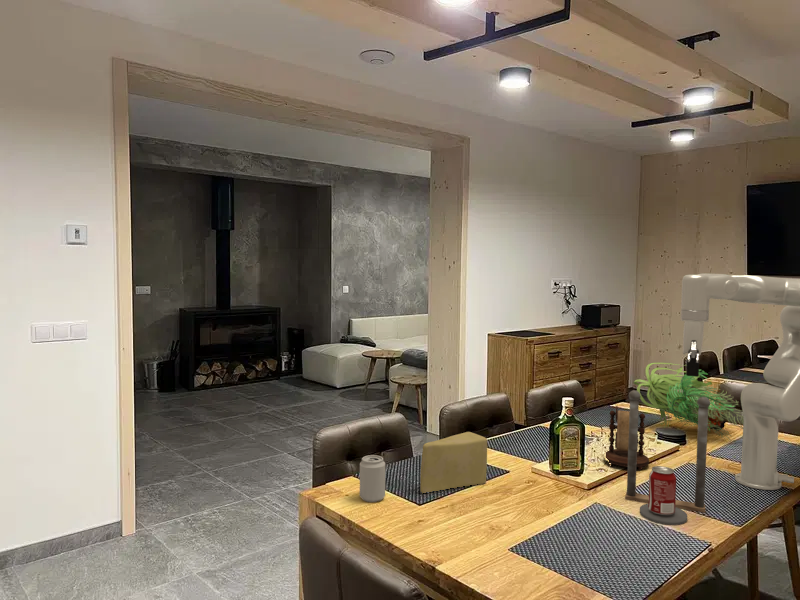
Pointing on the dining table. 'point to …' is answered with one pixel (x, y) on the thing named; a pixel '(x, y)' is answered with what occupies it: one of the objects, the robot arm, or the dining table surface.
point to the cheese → (453, 462)
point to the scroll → (624, 440)
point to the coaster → (674, 519)
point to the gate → (700, 462)
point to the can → (372, 478)
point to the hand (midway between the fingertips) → (692, 373)
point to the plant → (685, 398)
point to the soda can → (662, 491)
